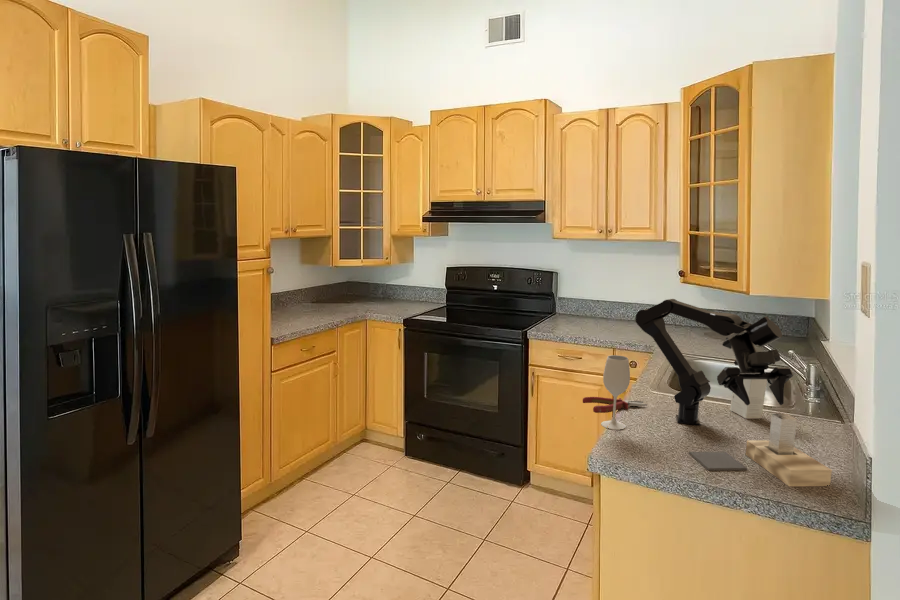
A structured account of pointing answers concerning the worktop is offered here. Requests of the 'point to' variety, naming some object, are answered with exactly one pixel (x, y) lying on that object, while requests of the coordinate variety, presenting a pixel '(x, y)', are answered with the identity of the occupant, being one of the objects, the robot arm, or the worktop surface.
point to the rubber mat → (717, 461)
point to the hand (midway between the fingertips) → (765, 404)
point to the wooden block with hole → (789, 465)
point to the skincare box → (756, 397)
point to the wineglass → (616, 384)
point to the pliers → (610, 404)
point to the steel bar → (782, 434)
